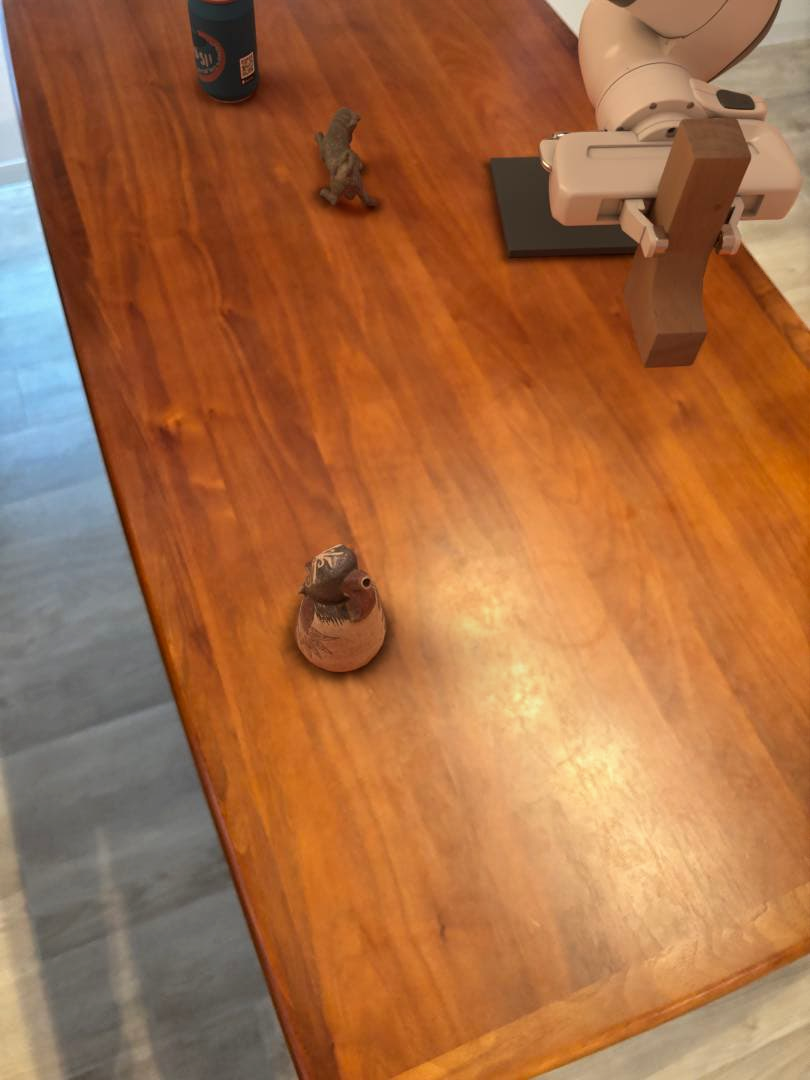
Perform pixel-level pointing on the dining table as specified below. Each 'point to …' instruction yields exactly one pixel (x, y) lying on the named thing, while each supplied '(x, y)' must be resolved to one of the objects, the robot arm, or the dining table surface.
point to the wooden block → (685, 240)
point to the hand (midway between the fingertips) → (694, 250)
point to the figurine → (339, 612)
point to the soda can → (225, 48)
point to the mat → (545, 216)
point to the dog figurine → (342, 159)
